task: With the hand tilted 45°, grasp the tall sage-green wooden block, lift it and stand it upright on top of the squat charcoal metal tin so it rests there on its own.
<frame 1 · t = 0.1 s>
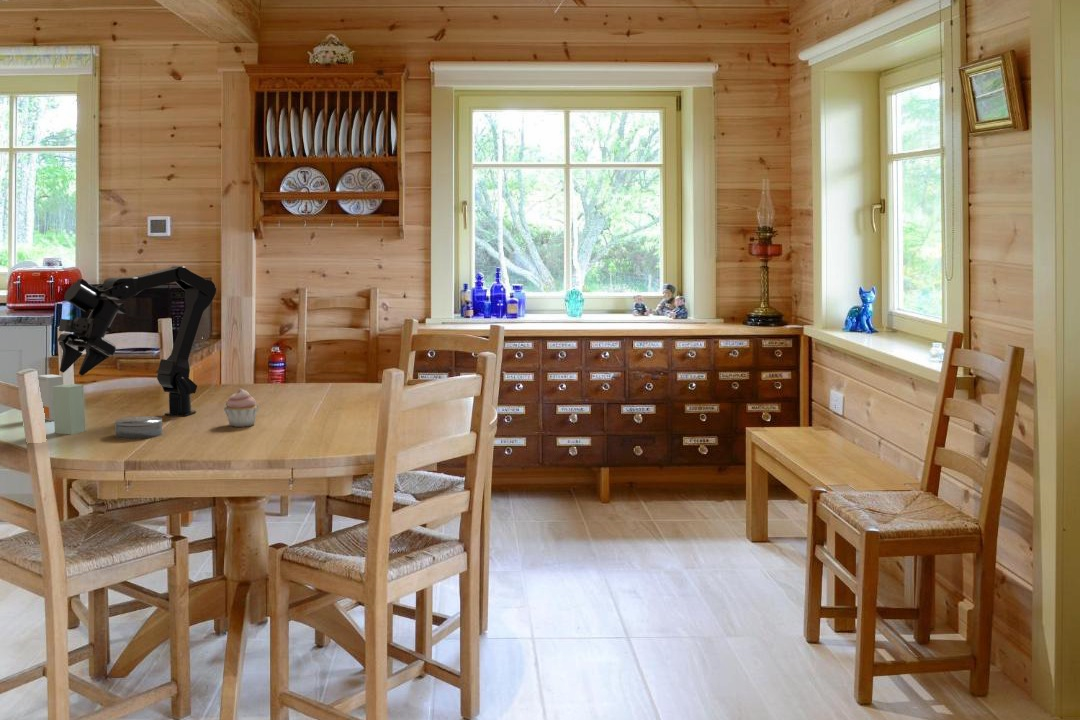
hand: (70, 373, 259), 15 cm above the table, tool tilted 35°, fingers open, 9 cm apart
sage block: (70, 432, 258), on the table
cupcake: (241, 425, 270), on the table
charcoal tin: (139, 435, 255), on the table
skincare box: (52, 419, 276), on the table
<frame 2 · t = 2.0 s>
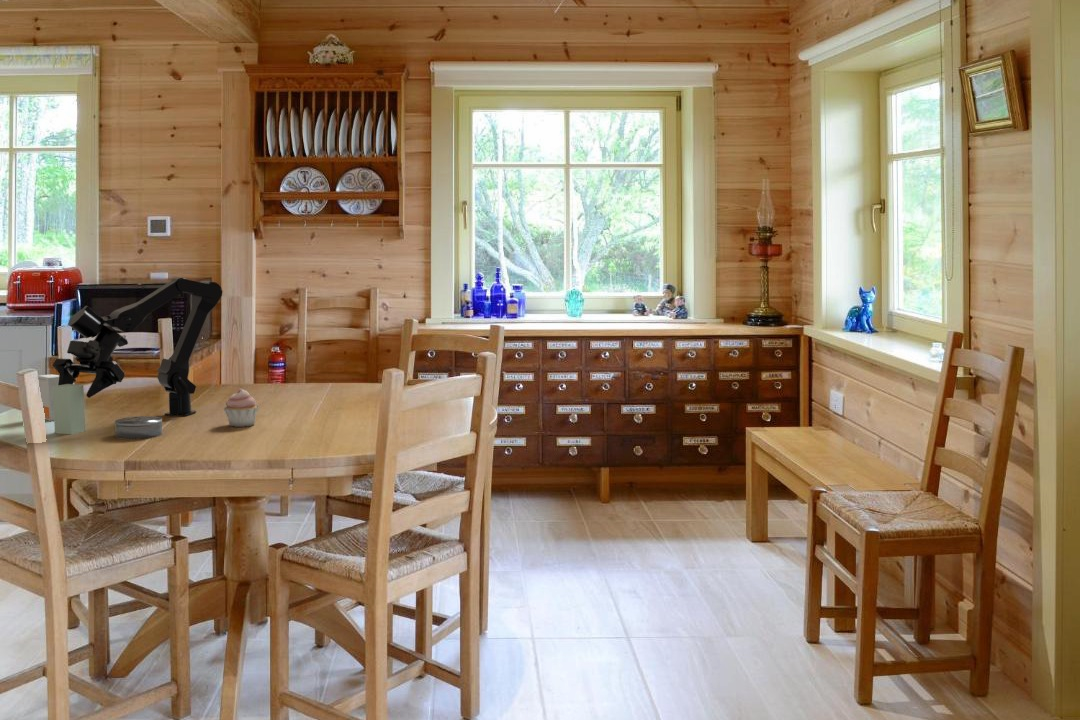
hand: (72, 395, 259), 9 cm above the table, tool tilted 45°, fingers open, 9 cm apart
nothing on the table moved.
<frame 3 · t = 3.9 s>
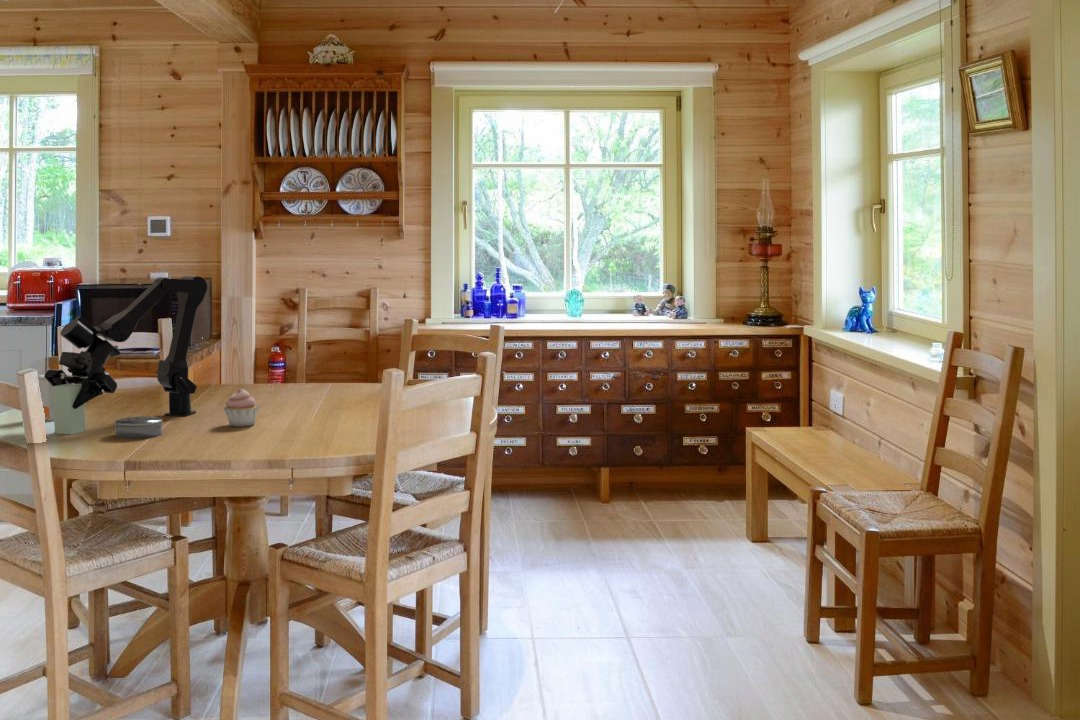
hand: (65, 407, 256), 7 cm above the table, tool tilted 45°, fingers closed on sage block, 5 cm apart
sage block: (70, 432, 258), on the table, touching gripper
everything else where it was.
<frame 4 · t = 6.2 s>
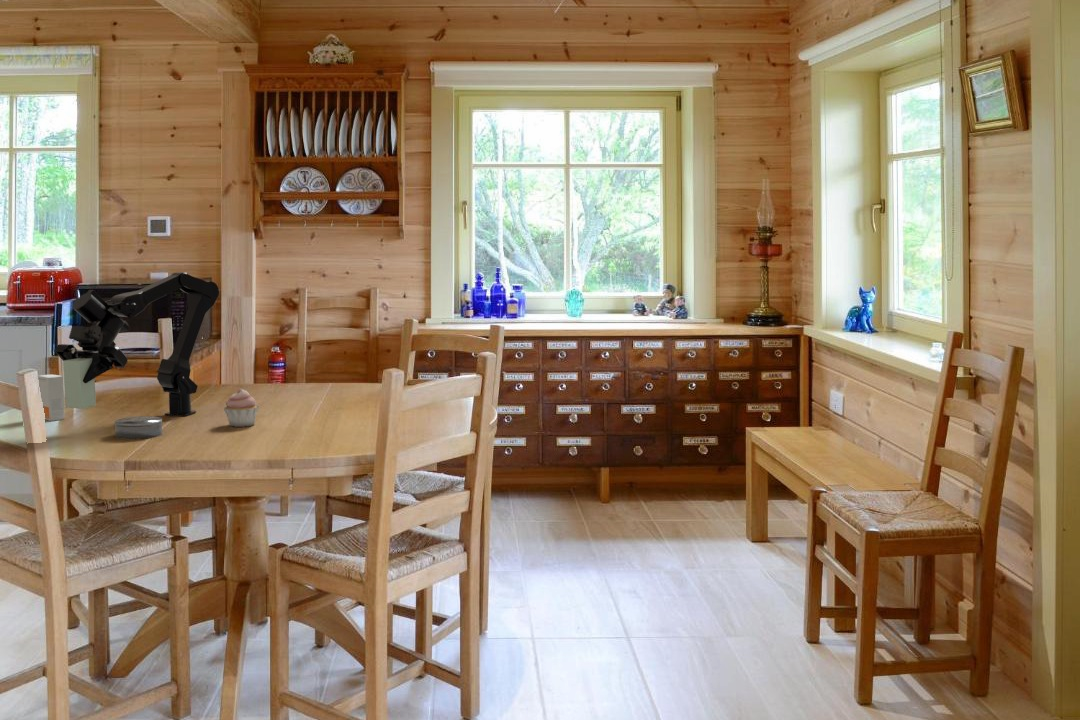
hand: (75, 381, 255), 13 cm above the table, tool tilted 45°, fingers closed on sage block, 5 cm apart
sage block: (80, 406, 257), point 7 cm above the table, touching gripper
everything else where it was.
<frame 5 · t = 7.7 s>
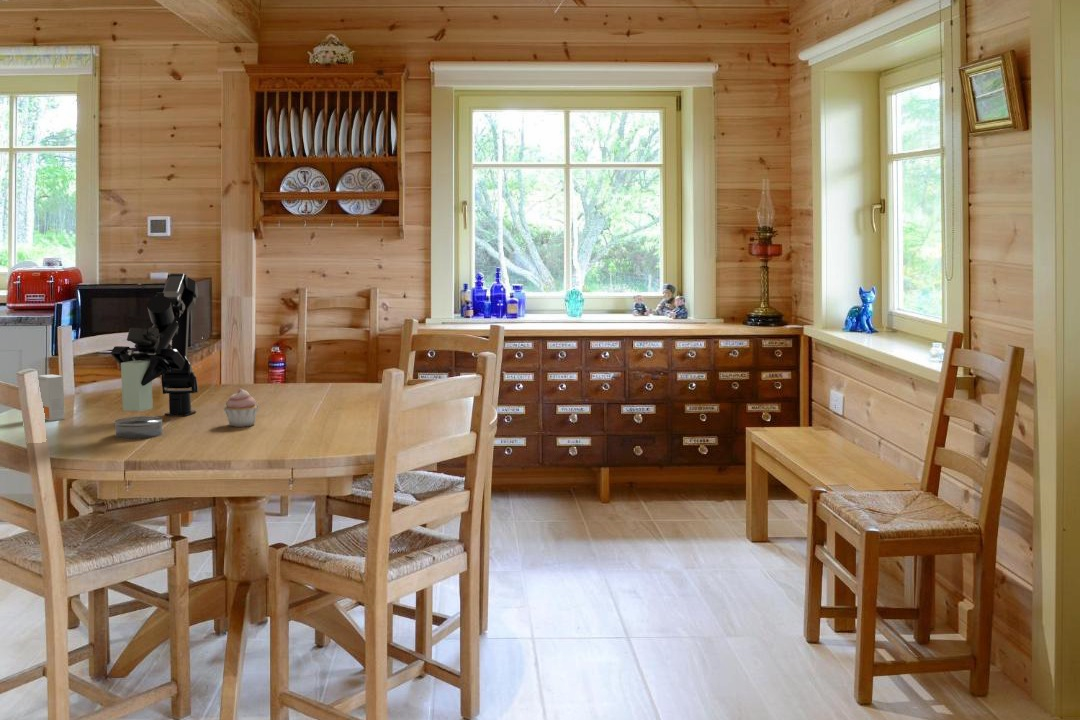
hand: (133, 384, 252), 13 cm above the table, tool tilted 45°, fingers closed on sage block, 5 cm apart
sage block: (137, 409, 254), point 7 cm above the table, touching gripper
everything else where it was.
when the fingers open (11 cm above the table, at t = 8.8 s): sage block drops 1 cm, resting on charcoal tin.
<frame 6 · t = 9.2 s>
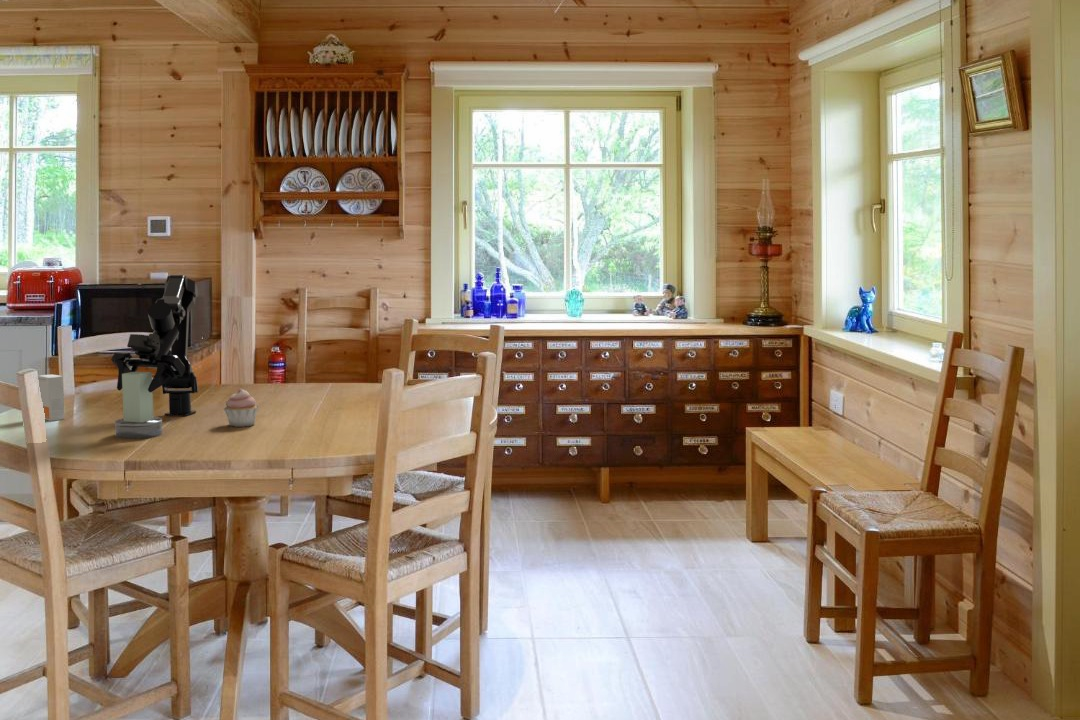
hand: (133, 390, 252), 12 cm above the table, tool tilted 45°, fingers open, 9 cm apart
sage block: (138, 420, 255), point 4 cm above the table, touching charcoal tin
charcoal tin: (139, 435, 255), on the table, touching sage block
everything else where it was.
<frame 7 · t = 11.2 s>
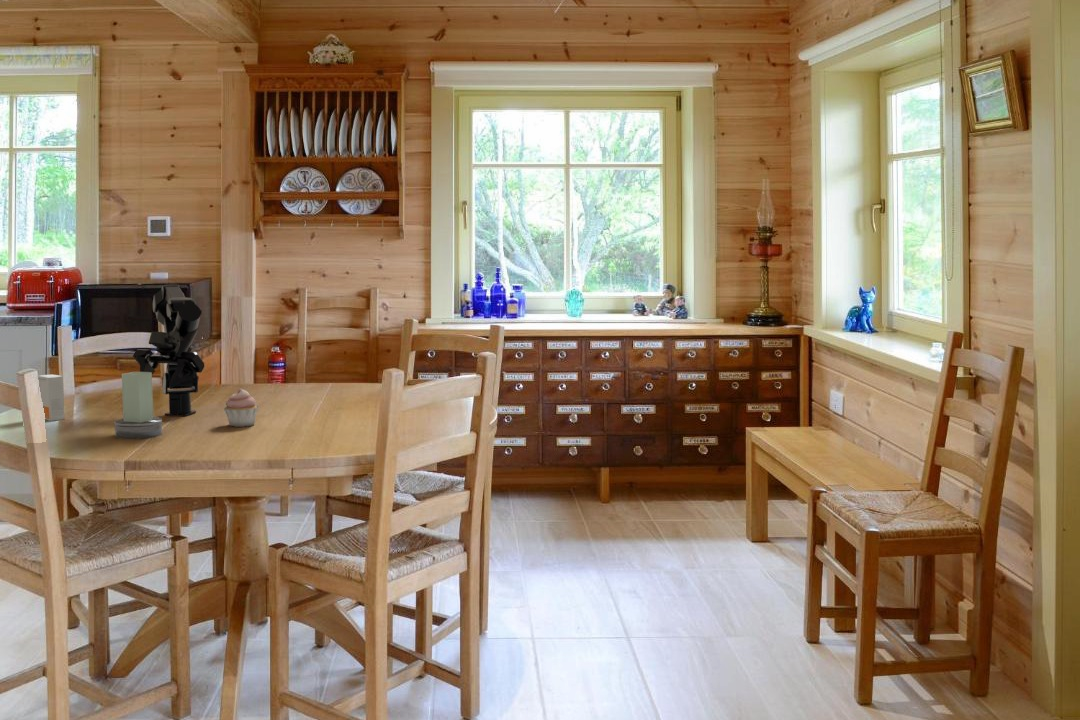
hand: (154, 386, 260), 12 cm above the table, tool tilted 45°, fingers open, 9 cm apart
nothing on the table moved.
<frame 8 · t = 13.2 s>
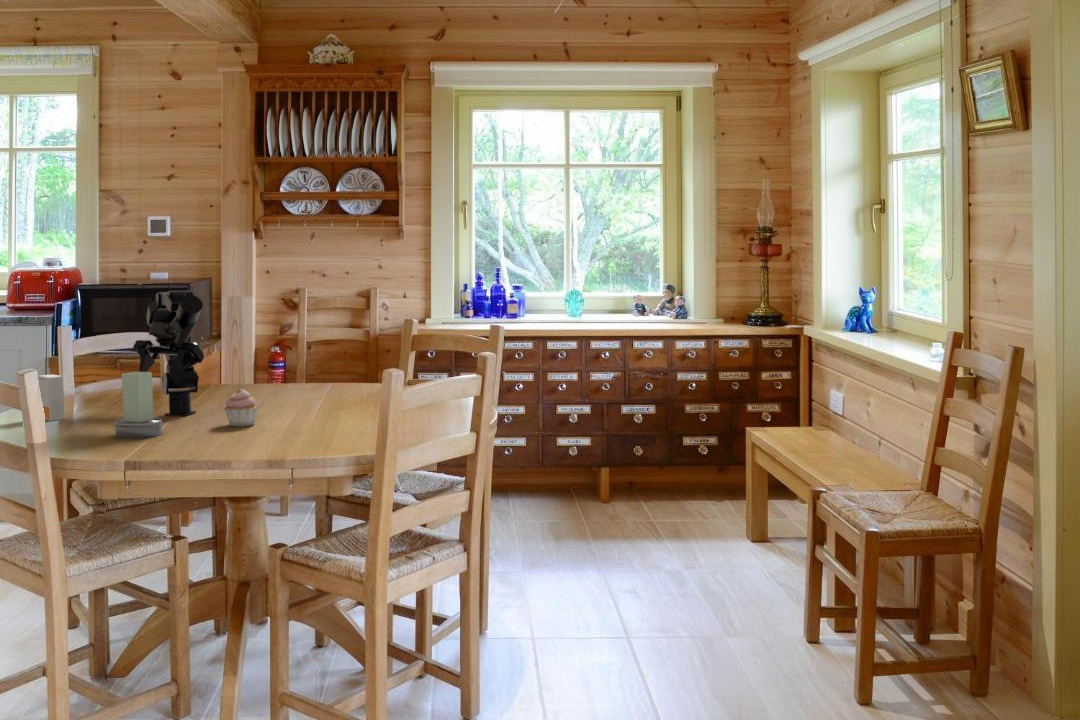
hand: (155, 376, 264), 14 cm above the table, tool tilted 45°, fingers open, 9 cm apart
nothing on the table moved.
at the end: sage block 0.1 cm from the charcoal tin (horizontally); sage block point 3.7 cm above the table; sage block tilted 0° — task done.
